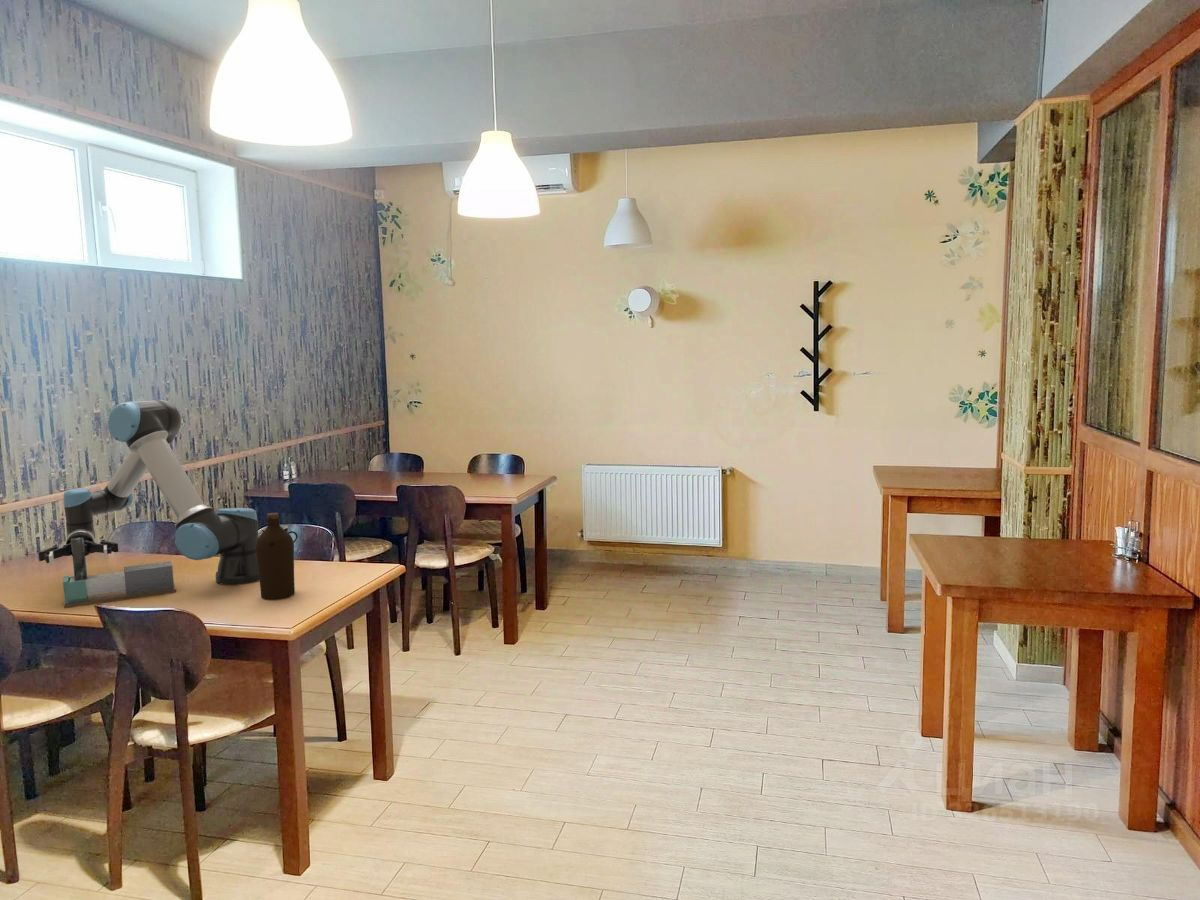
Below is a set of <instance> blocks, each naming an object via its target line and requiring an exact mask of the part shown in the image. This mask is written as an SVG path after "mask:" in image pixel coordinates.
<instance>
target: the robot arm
mask: <svg viewBox="0 0 1200 900" xmlns="http://www.w3.org/2000/svg"><path fill="white" fill-rule="evenodd" d="M181 426H182V417H181V414H180V411H179V409H178V408H177V407H176V406H175V405H174V404H173V403H172V402H170V401H167V400H164V399H153V400H152V399H149V400H141V401H138V400H137V401H130V400H129V401H126V402H121V403H118V404H117V405H115V406H114V407H113V408H112V409H111V410H110V412H109V414H108V420H107V428H108V429H107V430H108V432H109V434H110V436H111V438H113V439H114V440H115V441H118V442H121V443H125V444H126V445H127V447H128V449H129V450H130V451H129V453H128V454H127V456H126V457H125V459H124V460H123V462H122V463H121V464H120V466H119V467H118V469H117V470H116V471H115V473H114V474H113V476H112V477H111V479H110V480H109V481H108V483H107V485H106V486H105V487H104V489H102V490H98V491H93V492H91V490H90V488H83V487H82V488H81V487H79V488H73V489H68V490H66V491H64V493H63V507H64V516H65V529H66V543H65V544H63V545H62V546H61V547H60V545H58V544H55V545H53V546H51V547H48V548H47V549H44V550H41V551H39V552H38V561H39V562H43V561H45V562H46V564H49V566H54V562H55V559H58V558H62V557H70V556H71V557H72V547H71V539H72V538H78V537H83V538H84V548H85V557H87V556H89V554H95V553H101V554H103V555H104V558H103V559H104V560H105V559H108V555H110V554H112V553H119V543H116V542H111V541H108V540H106V539H101V540H99V542H95V539H96V531H95V526H94V516H98V515H101V514H106V513H111V512H116V511H121V510H124V509H126V508H128V507H130V506H131V505H132V503H133V494H132V492H133V491H135V490H134V489H136V487H137V485H138V484H139V483H140V481H141V480H142V479H143V477H144V476H145V474H146V473H147V471H148V472H149V474H150V475H151V477H152V479H153V480H154V482H155V484H156V486H157V488H158V489H159V491H160V493H161V494H162V496H163V497H164V499H165V501H166V502H167V504H168V506H169V508H170V509H171V512H172V513H173V514H174V517H175V518H176V522H175V525H174V527H175V529H176V531H175V534H174V538H175V540H174V543H175V546H176V548H177V550H178V551H179V552H180V554H181V555H183V556H184V557H186V558H187V559H190V560H193V561H202V560H206V559H207V560H208V559H211V558H213V557H215V556H218V555H219V561H218V566H217V571H216V572H215V582H216V583H217V584H221V585H225V586H226V585H228V586H229V585H233V586H234V585H244V584H249V583H255V582H258V581H259V582H260V579H259V571H258V563H257V555H256V542H257V539H258V537H259V526H258V524H259V523H258V521H259V520H258V516H257V512H256V510H255V509H254V508H251V507H250V508H247V507H225V508H224V507H223V508H219V509H217V511H215V510H214V508H213V507H212V506H209V505H206V504H205V503H204V501H203V500H202V498H201V496H200V494H199V493H198V491H197V490H196V488H195V486H194V485H193V483H192V481H191V480H190V478H189V477H188V474H187V473H186V471H185V470H184V468H183V467H182V465H181V463H180V461H179V459H178V458H177V456H176V454H175V452H174V451H173V449H172V448H171V446H170V444H171V443H172V442H173V441H175V438H176V437H177V435H178V433H179V431H180V429H181Z"/></svg>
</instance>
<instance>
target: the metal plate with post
mask: <svg viewBox="0 0 1200 900" xmlns="http://www.w3.org/2000/svg"><path fill="white" fill-rule="evenodd" d="M71 547H72V555H71V557H72V565H73V576H74V578H70V582H72V581H80V580H86V590H87V596H89V595H96V594H103V593H110V592H117V591H124V590H126V585H125V574H124V570H121V571H115V572H108V573H101V574H91V575H88V572H87V570H88V569H87V561H86V560H87V559H86V556H85V548H84V538H83V537H78V538H72V539H71Z"/></svg>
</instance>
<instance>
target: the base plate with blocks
mask: <svg viewBox="0 0 1200 900" xmlns="http://www.w3.org/2000/svg"><path fill="white" fill-rule="evenodd" d="M123 571H124V574H125V585H126V590H124V591H117V592H110V593H103V594H96V595H89V596H88V598H87V601H80V602H73V603H66V604H65V599H64V603H63V609H68V608H75V607H82V606H89V605H95V604H96V605H97V604H102V603H103V604H104V603H109V602H110V603H111V602H117V601H123V600H130V599H137V598H143V597H144V598H146V597H151V596H158V595H165V594H171V593H176V592H177V588H176V586H175V584H176V583H174V571H173V563H172V561H171V560H168V561H159V562H152V563H151V562H150V563H143V564H136V565H128V566H123Z"/></svg>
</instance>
